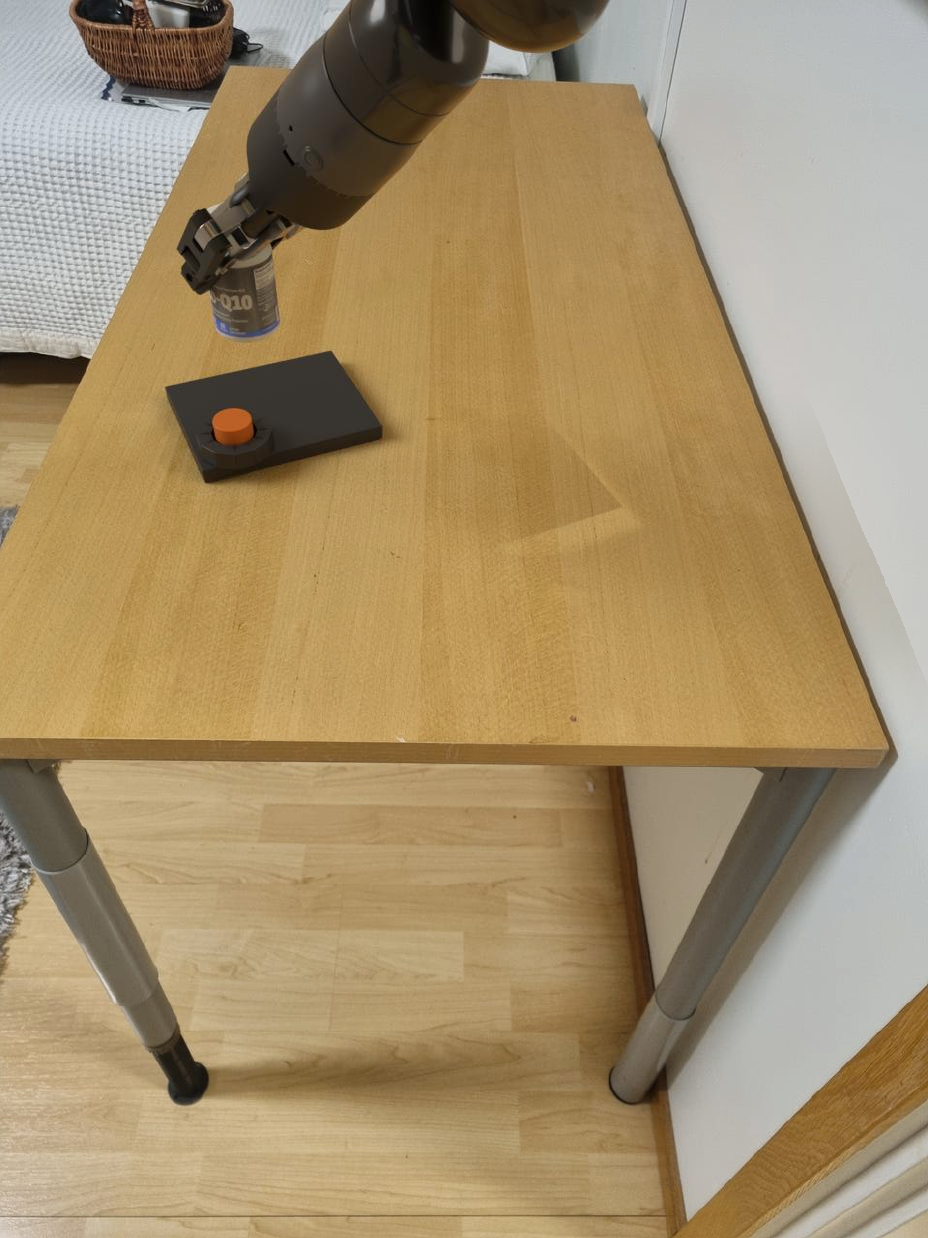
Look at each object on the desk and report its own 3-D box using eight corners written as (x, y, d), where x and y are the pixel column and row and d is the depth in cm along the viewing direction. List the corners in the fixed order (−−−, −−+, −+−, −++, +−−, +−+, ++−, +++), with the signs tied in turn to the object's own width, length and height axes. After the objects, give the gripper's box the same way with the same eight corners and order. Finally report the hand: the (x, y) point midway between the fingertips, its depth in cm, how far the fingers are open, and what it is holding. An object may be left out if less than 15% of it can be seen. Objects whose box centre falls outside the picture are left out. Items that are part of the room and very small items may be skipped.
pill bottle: (203, 335, 68) (180, 221, 61) (238, 305, 71) (220, 193, 64) (260, 350, 66) (243, 236, 60) (293, 319, 69) (280, 207, 63)
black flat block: (208, 491, 77) (202, 462, 75) (167, 399, 86) (160, 370, 83) (387, 445, 82) (386, 417, 80) (332, 362, 91) (330, 334, 88)
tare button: (221, 450, 77) (218, 434, 76) (210, 428, 79) (207, 413, 77) (258, 440, 78) (256, 425, 77) (247, 419, 80) (245, 404, 78)
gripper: (379, 35, 56) (258, 184, 69) (205, 103, 48) (106, 257, 61) (449, 150, 58) (318, 274, 71) (294, 234, 50) (179, 356, 63)
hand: (220, 266), depth 66 cm, fingers closed on pill bottle, 4 cm apart
